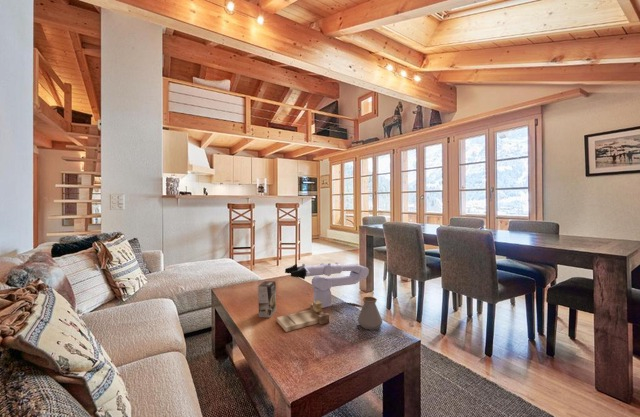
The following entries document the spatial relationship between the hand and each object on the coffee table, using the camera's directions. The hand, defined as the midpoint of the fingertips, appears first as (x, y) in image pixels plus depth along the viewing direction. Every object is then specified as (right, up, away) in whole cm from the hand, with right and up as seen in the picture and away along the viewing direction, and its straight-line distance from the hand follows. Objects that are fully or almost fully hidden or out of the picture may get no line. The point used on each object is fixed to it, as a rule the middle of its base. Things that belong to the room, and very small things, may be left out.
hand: (288, 272), depth 141 cm
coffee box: (-11, -22, 0) cm, 24 cm away
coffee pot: (+36, -22, -18) cm, 46 cm away
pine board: (+8, -22, -9) cm, 25 cm away
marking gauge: (+16, -21, -6) cm, 27 cm away
